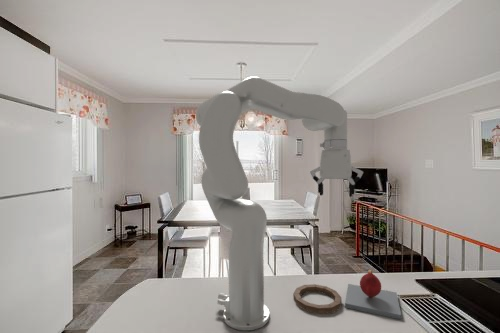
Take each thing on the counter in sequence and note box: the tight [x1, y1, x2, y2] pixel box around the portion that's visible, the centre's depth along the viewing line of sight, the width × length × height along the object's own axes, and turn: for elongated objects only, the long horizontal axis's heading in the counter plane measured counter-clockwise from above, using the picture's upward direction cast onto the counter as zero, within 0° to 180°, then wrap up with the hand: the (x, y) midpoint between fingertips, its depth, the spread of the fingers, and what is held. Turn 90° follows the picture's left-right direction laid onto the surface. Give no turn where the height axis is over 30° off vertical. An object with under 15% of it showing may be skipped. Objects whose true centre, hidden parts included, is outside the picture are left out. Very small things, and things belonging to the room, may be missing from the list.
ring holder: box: [292, 283, 342, 315], centre depth 77 cm, size 14×14×2 cm
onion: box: [359, 269, 382, 298], centre depth 76 cm, size 6×6×8 cm
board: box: [344, 283, 402, 320], centre depth 76 cm, size 14×13×1 cm
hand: (335, 195), depth 88 cm, fingers open, 9 cm apart
